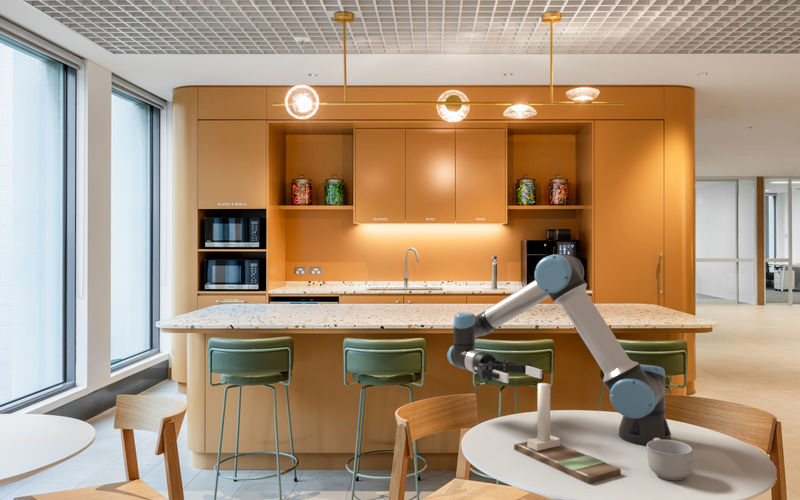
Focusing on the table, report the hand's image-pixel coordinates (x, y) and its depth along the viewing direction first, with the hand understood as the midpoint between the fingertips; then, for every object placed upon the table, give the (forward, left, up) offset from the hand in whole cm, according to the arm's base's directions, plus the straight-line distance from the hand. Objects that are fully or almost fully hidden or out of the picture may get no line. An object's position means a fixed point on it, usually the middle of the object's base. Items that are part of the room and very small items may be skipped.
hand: (524, 376), depth 170 cm
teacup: (-33, +22, -21) cm, 45 cm away
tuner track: (-8, +14, -21) cm, 26 cm away
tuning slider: (-4, +7, -19) cm, 20 cm away
